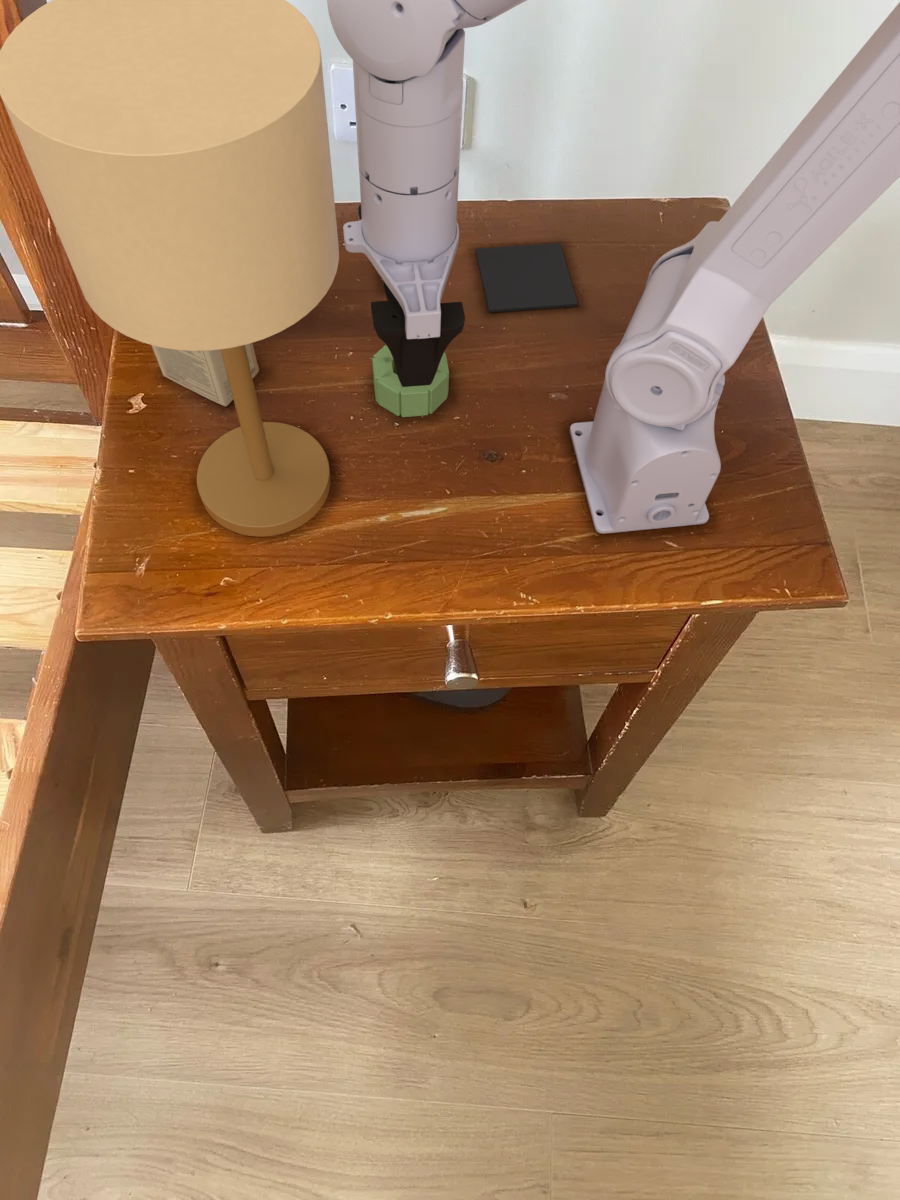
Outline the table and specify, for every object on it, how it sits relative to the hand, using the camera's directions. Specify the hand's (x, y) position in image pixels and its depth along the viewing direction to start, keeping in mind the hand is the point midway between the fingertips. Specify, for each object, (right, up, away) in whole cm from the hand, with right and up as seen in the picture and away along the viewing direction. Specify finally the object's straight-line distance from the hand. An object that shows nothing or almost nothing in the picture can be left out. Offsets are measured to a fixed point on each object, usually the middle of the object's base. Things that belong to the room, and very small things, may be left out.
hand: (409, 341), depth 62 cm
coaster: (+9, +8, +10) cm, 16 cm away
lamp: (-10, -10, 0) cm, 14 cm away
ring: (0, -2, +4) cm, 5 cm away
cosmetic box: (-15, -1, +4) cm, 16 cm away
